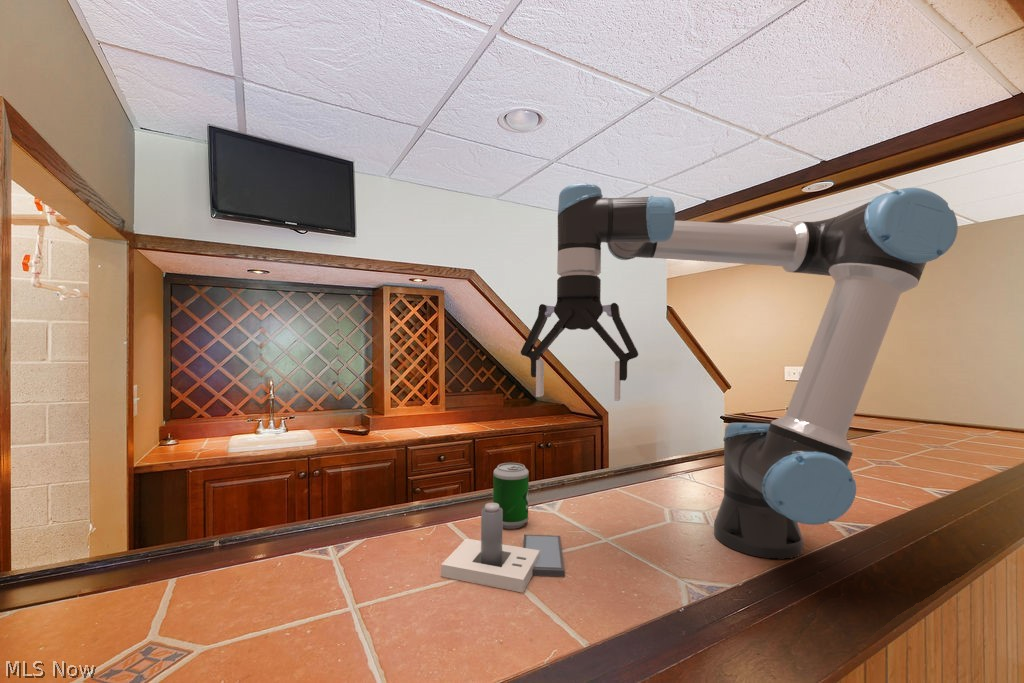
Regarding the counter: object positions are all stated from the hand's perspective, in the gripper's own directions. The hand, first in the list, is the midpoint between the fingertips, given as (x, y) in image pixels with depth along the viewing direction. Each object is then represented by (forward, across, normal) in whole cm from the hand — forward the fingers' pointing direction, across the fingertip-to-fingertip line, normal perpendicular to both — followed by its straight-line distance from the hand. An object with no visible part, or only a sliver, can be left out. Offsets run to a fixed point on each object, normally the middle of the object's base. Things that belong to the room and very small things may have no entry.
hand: (577, 398), depth 77 cm
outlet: (+29, +13, +7) cm, 32 cm away
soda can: (+29, +16, -12) cm, 35 cm away
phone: (+29, +6, 0) cm, 29 cm away
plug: (+29, +13, +7) cm, 32 cm away
